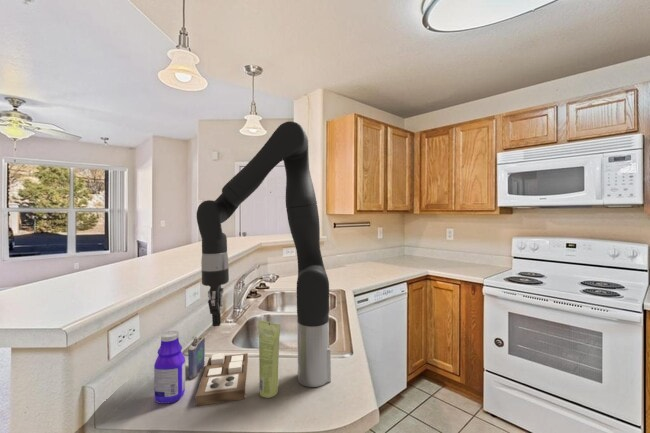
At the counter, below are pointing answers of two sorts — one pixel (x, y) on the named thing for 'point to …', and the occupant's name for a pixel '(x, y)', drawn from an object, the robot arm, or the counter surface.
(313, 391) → the counter surface
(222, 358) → the button back outer
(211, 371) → the button front outer
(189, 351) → the flask
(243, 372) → the panel
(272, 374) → the tube
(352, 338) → the counter surface
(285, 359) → the counter surface
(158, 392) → the bottle
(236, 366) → the button front inner
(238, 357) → the button back inner
